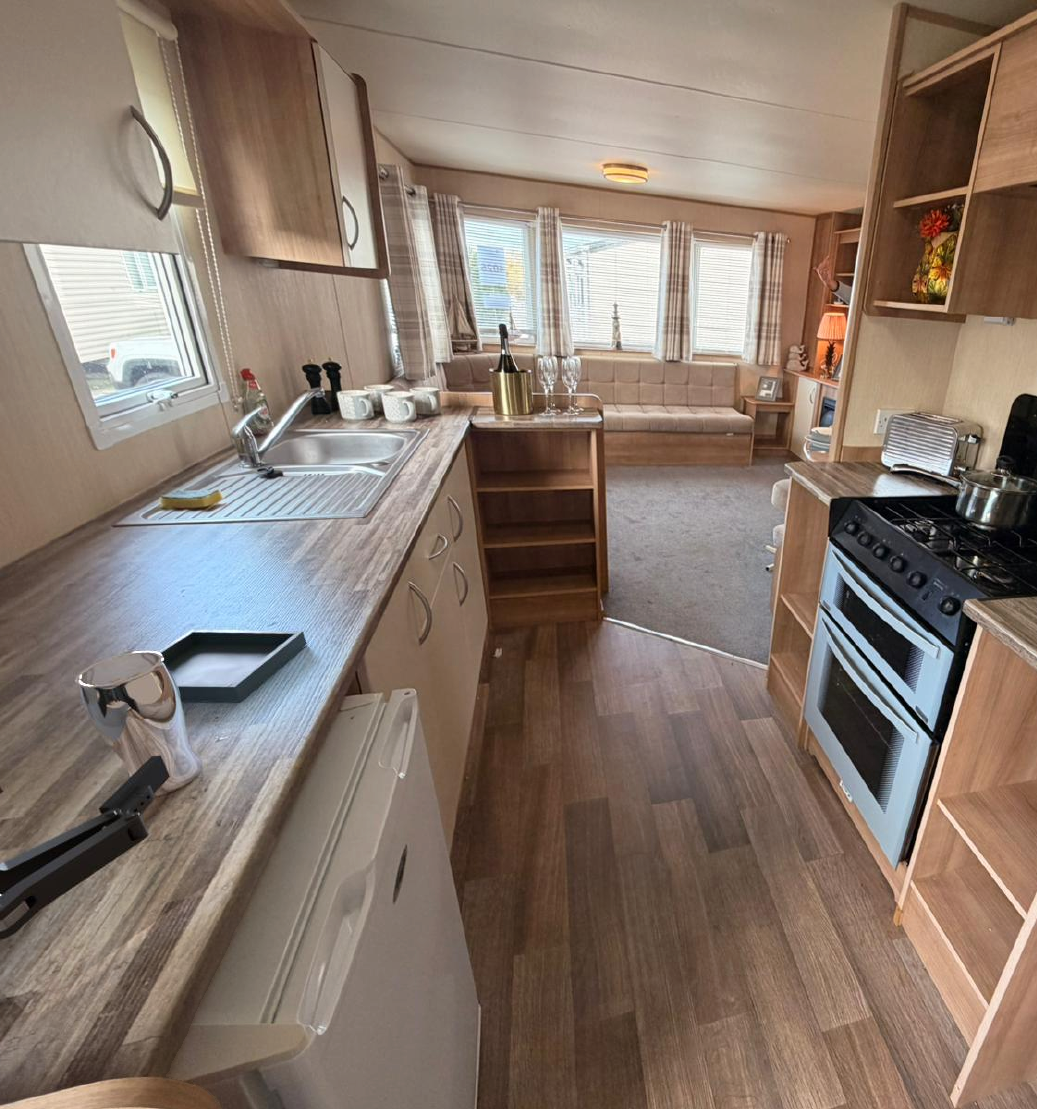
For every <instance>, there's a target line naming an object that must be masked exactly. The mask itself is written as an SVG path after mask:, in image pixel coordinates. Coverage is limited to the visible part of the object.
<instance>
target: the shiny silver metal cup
mask: <svg viewBox="0 0 1037 1109" xmlns="http://www.w3.org/2000/svg"><path fill="white" fill-rule="evenodd" d="M75 684H76V686H77V688H78V691H79V696H80V699H81V701H82V704H83V707H84V710H85V712H86V714H87V716H88V718H89V720H90V722H91V723H92V725H93V727H94V729H95V730H96V732H98V734H99V735H100V737H101V738H102V739H103V740H104V742H105V743H106V744H107V745H108V747H110V748H111V750H113V751H114V753H115V755H117V756H118V757H119V759H120V760H121V761H122V763H123V765H124V766H125V768H126V771H127V776H128V779H129V778H130V777H131V776H132V775H133V774H134V773H135V772H136V771H137V770H138V769H139V768H140V767H141V766H142V765H143V764H144V763H145V762H146V761H147V760H148V759H149V758H150V757H151V756H159V755H161V757H162V759H163V761H164V764H165V766H166V768H167V771H168V773H169V775H170V777H169V778H168V779H167V781H166V782H165V783H164V784H163V785H162V786H161V787H160V788H159V789H158V790H157V791H156V792H155V793H154V796H155V798H156V797H160V796H163V795H166V794H170V793H172V792H175V791H177V790H179V789H181V788H183V787H185V786H186V785H188V784H190V783H191V782H192V781H193V780H195V779H196V778H197V777H198V776H199V775H200V774H201V772H202V771H203V768H204V763H203V760H202V759H201V757H200V756H199V755H198V754H197V753H196V751H195V750H194V749H193V747H192V745H191V744H190V742H189V738H188V734H187V728H186V717H185V708H184V702H182V698H181V694H180V692H179V689H178V686H177V684H176V681H175V679H174V677H173V675H172V673H171V671H170V670H169V668H168V666H167V664H166V663H165V661H164V659H163V656H162V655H161V654H160V653H157V651H150V650H143V651H133V652H126V653H122V654H119V655H115V656H112V657H109V658H106V659H103V660H101V661H97V662H96V663H93V664H91V665H90V666H88V667H86V668H85V669H83V670H82V671H80V672H79V673H78V675H76V677H75Z"/></svg>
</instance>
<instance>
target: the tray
mask: <svg viewBox="0 0 1037 1109" xmlns="http://www.w3.org/2000/svg"><path fill="white" fill-rule="evenodd" d="M306 644H307V645H306ZM305 645H306V646H305ZM304 646H305V647H304ZM307 646H308V643H307V639H306V636H305V633H304V631H303V630H245V629H244V630H243V629H240V630H239V629H191V630H189V631H187V632H185V633H184V634H182V635H181V636H180V637H178V638H177V639H175V640H173V641H171V642H170V643H168V644H167V645H165V646H163V647H162V648H160V649H159V650H157V651H156V652H157V653H160V654H161V655H162V656H163V659H164V661H165V663H166V664H167V666H168V668H169V670H170V671H171V673H172V675H173V677H174V679H175V681H176V684H177V686H178V689H179V692H180V694H181V698H182V703H214V704H215V703H226V704H228V703H231V704H232V703H233V704H234V703H236V704H238V703H242V702H243V701H244V700H245V699H246V698H247V697H249V696H250V695H251V694H252V693H254V691H256V690H257V689H258V688H259V687H261V685H263V684H264V683H265V682H266V681H268V680H269V679H270V678H271V677H272V676H273V675H274V674H276V673H277V672H278V671H280V669H281V668H282V667H284V666H285V665H286V664H287V663H289V661H291V660H292V659H293V658H294V657H295V656H297V655H298V654H299V653H300V652H301V651H302V650H303V649H305V648H306V647H307ZM303 647H304V648H303ZM302 648H303V649H302ZM301 649H302V650H301ZM300 650H301V651H300Z"/></svg>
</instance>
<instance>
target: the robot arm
mask: <svg viewBox="0 0 1037 1109" xmlns="http://www.w3.org/2000/svg"><path fill="white" fill-rule="evenodd" d="M169 777H170V775H169V773H168V771H167V768H166V766H165V764H164V761H163V759H162V757H161V755H159V756H151V757H150V758H149V759H148V760H147V761H146V762H145V763H144V764H143V765H142V766H141V767H140V768H139V769H138V770H137V771H136V772H135V773H134V774H133V775H132V776H131V777H130V778H129V777H128V779H127V780H125V781H124V783H123V784H122V785H120V786H119V787H118V789H117V790H115V791H114V792H113V793H112V795H111V796H109V797H108V798H107V799H106V800H105V801H104V802H103V804H101V805H100V806H99V807H98V810H99V812H100V814H99V815H97V816H95V817H93V818H91V819H89V820H87V821H85V822H83V823H81V824H79V825H77V826H74V827H73V828H71V829H69V830H67V831H65V832H62V833H61V834H59V835H57V836H54V837H52V838H50V839H49V840H47V841H44V842H43V843H40V844H38V845H37V846H34V847H32V848H31V849H28V850H26V851H24V852H22V853H20V854H18V855H16V856H14V857H12V858H10V859H9V860H5V861H4V862H0V941H1V940H5V939H8V938H9V937H12V936H13V935H15V934H16V933H17V932H18V931H20V930H21V929H22V927H25V925H26V924H27V923H28V922H29V921H31V919H33V917H35V916H36V915H37V914H38V913H39V912H40V911H41V910H43V909H45V907H46V906H49V905H50V904H51V903H53V902H54V901H56V900H57V899H59V898H60V897H61V896H63V895H64V894H66V893H68V892H69V891H71V890H72V889H74V888H75V887H76V886H78V885H80V884H81V883H82V882H84V881H86V880H87V879H88V878H90V877H91V876H93V875H95V873H97V872H99V871H100V870H102V869H104V867H106V866H108V865H109V864H110V863H112V862H113V861H115V860H116V859H117V858H119V857H121V856H122V855H123V854H125V853H126V852H128V851H129V850H131V849H133V848H134V847H135V846H137V845H138V844H140V843H141V842H143V841H144V840H146V839H147V838H148V836H149V831H148V829H147V827H146V825H145V822H144V821H143V819H142V816H141V815H142V814H143V812H145V810H146V809H147V808H148V807H149V806H150V805H151V804H152V803H153V802H154V800H155V798H156V797H155V796H154V793H155V792H156V791H157V790H158V789H159V788H160V787H161V786H162V785H163V784H164V783H165V782H166V781H167V779H168V778H169ZM3 793H4V790H3V789H2V787H1V786H0V795H1V794H3Z"/></svg>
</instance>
